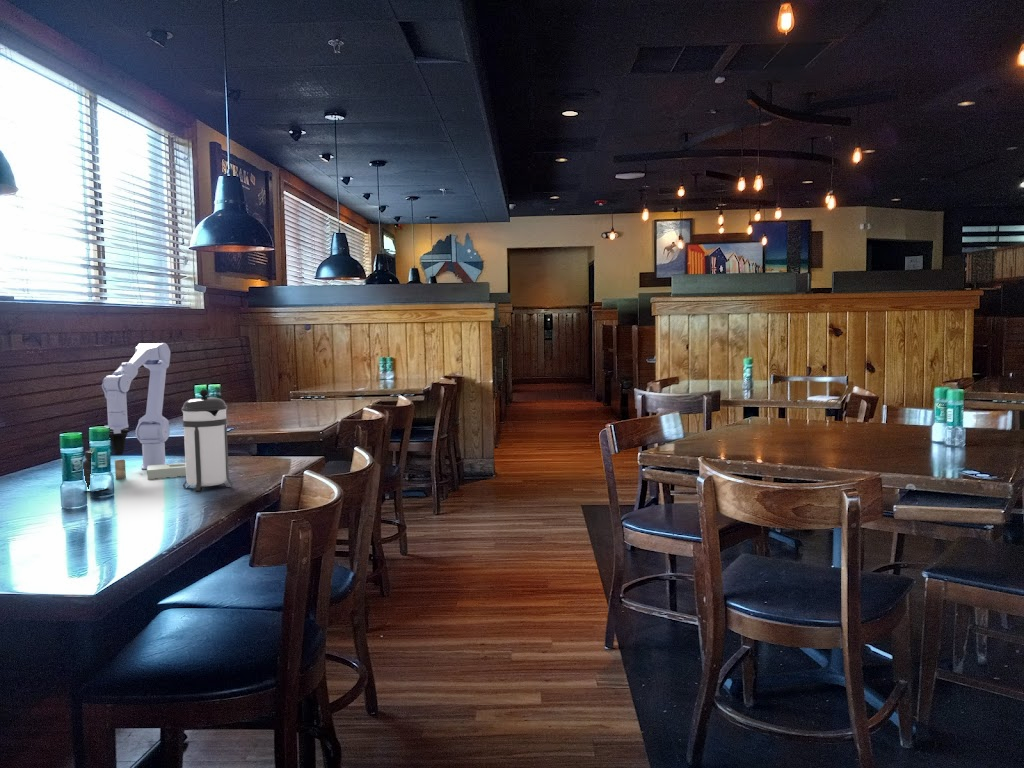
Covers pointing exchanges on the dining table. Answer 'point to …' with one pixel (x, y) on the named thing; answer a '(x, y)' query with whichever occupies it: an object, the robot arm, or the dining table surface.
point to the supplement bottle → (87, 467)
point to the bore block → (166, 470)
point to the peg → (120, 469)
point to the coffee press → (205, 442)
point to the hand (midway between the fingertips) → (119, 453)
